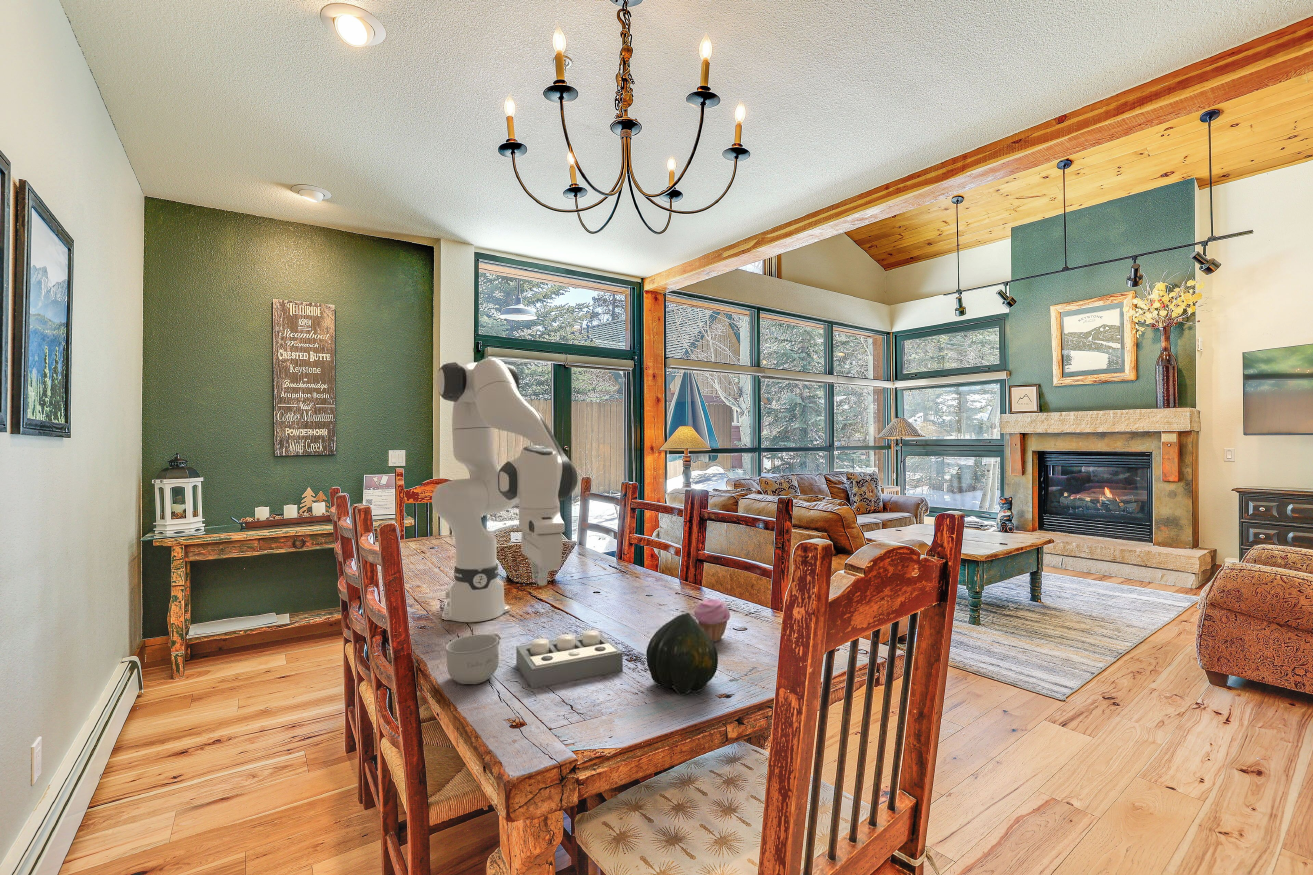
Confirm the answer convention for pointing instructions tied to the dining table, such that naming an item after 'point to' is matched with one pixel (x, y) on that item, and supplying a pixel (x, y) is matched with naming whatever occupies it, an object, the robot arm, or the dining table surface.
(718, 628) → the cupcake
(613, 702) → the dining table surface
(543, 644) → the button
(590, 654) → the button board
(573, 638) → the button
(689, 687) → the squash
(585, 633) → the button
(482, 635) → the teacup
